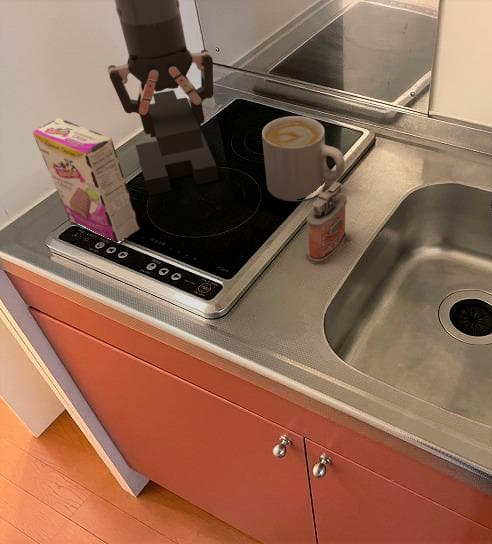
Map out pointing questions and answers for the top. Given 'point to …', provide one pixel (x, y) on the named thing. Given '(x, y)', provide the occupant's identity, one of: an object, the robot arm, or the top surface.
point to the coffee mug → (297, 157)
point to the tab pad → (174, 124)
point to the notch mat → (175, 166)
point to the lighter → (327, 225)
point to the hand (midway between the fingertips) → (175, 129)
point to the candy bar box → (88, 178)
